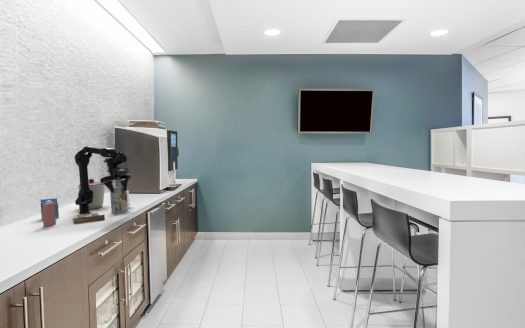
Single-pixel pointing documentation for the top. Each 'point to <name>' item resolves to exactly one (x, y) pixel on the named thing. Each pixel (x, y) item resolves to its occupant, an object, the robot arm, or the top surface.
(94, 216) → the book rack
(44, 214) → the dusty red block
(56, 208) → the label tape cartridge
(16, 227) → the top surface
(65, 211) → the top surface
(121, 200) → the coffee box
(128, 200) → the cylinder with rectangular tab
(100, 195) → the canister
